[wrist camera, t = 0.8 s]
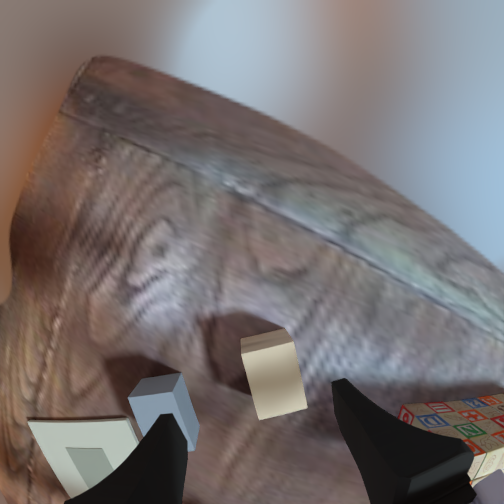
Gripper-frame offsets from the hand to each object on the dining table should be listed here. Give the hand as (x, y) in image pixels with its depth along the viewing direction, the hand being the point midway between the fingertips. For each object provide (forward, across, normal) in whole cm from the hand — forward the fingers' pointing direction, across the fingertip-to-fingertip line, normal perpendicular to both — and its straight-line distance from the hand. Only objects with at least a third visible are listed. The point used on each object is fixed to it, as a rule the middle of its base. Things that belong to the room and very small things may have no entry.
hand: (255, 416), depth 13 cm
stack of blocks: (+11, -22, +22) cm, 33 cm away
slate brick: (+13, +9, +8) cm, 18 cm away
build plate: (+10, +21, +16) cm, 28 cm away
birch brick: (+14, -1, +7) cm, 15 cm away
